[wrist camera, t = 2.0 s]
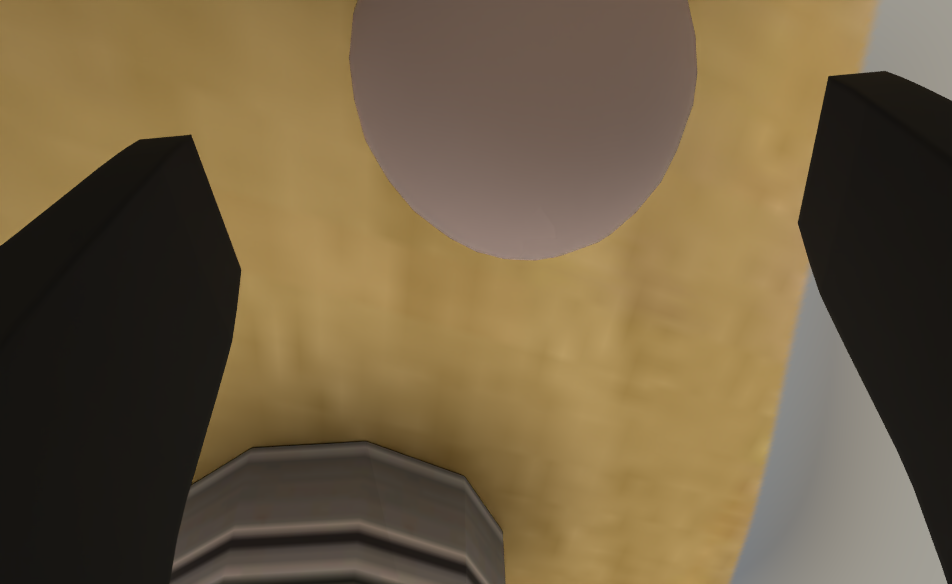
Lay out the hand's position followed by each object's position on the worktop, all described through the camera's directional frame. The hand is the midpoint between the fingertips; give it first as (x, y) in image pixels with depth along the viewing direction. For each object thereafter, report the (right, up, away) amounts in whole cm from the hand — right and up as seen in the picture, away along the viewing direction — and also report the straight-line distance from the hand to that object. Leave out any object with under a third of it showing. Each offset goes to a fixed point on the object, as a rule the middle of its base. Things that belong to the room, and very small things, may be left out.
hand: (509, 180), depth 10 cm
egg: (0, +5, +6) cm, 8 cm away
